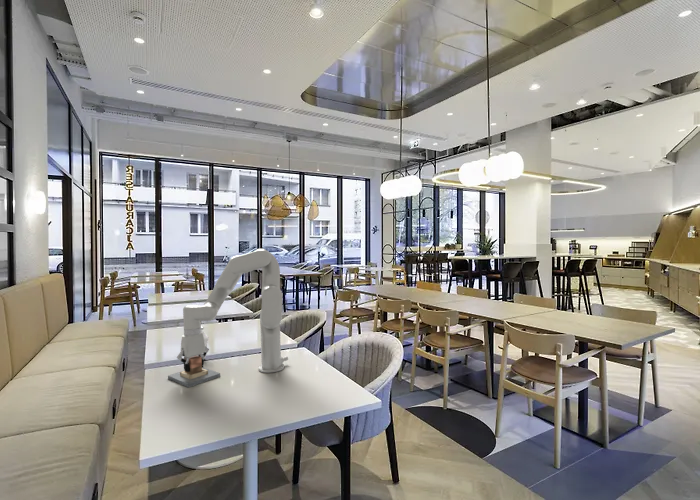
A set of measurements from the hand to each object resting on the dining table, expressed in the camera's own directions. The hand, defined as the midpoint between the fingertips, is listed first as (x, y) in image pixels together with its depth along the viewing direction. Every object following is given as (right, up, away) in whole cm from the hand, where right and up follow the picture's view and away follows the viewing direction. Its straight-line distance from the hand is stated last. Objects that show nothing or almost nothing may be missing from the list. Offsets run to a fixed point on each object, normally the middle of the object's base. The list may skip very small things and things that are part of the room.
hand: (194, 368), depth 179 cm
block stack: (0, -3, 0) cm, 3 cm away
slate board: (0, -4, 0) cm, 4 cm away
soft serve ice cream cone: (-8, -3, +28) cm, 29 cm away
